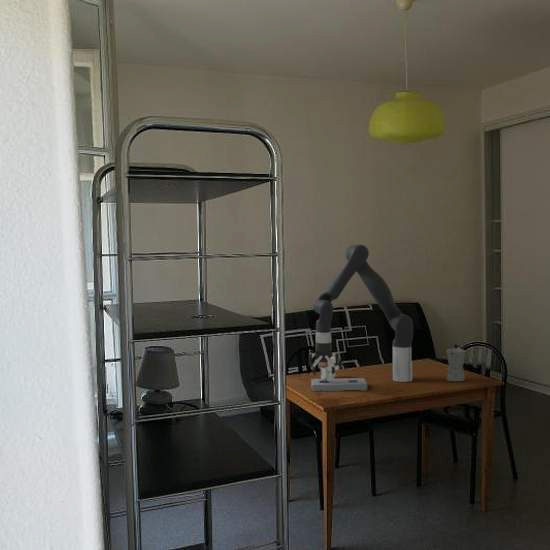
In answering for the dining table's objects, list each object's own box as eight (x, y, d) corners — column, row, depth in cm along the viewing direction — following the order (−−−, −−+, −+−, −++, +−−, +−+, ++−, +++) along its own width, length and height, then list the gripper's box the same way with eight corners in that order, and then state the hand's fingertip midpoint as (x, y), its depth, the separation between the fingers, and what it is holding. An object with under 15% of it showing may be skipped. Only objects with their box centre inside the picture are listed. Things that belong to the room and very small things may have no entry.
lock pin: (328, 386, 304) (327, 361, 303) (328, 388, 300) (328, 363, 299) (319, 386, 304) (319, 361, 303) (320, 389, 300) (319, 363, 299)
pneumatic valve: (342, 378, 320) (342, 355, 319) (321, 380, 316) (320, 357, 316) (338, 376, 325) (337, 353, 324) (317, 378, 322) (316, 355, 321)
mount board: (364, 384, 308) (364, 378, 307) (367, 390, 296) (367, 384, 295) (311, 384, 308) (311, 378, 308) (312, 391, 296) (312, 385, 296)
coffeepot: (461, 384, 304) (461, 347, 302) (442, 381, 309) (442, 345, 308) (470, 377, 317) (470, 342, 315) (451, 375, 322) (451, 340, 320)
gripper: (337, 339, 304) (337, 372, 305) (308, 339, 304) (308, 372, 305) (338, 342, 296) (339, 376, 298) (308, 342, 297) (309, 376, 298)
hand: (323, 374), depth 302 cm, fingers open, 8 cm apart
